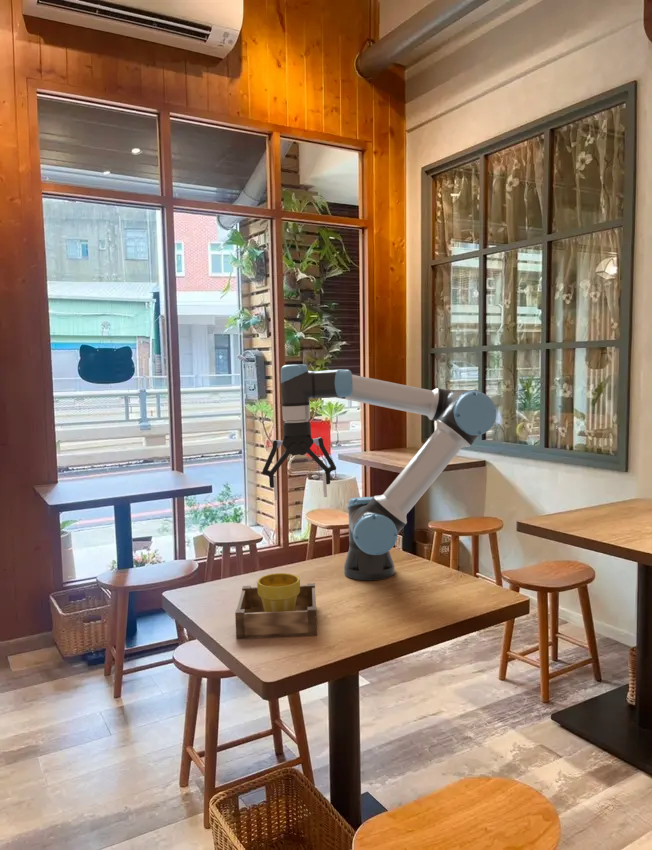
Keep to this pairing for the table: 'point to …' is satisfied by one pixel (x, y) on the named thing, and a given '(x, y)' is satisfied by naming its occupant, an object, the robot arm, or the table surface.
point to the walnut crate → (276, 616)
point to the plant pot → (278, 591)
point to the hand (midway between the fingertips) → (300, 497)
